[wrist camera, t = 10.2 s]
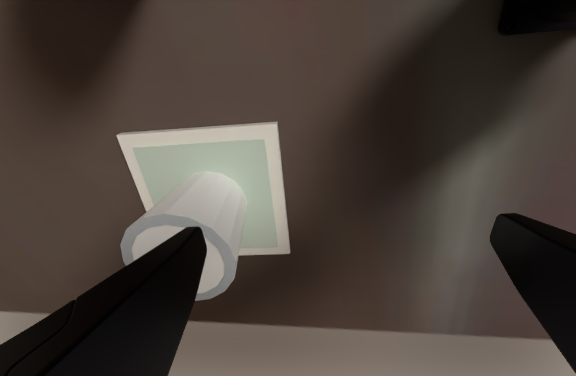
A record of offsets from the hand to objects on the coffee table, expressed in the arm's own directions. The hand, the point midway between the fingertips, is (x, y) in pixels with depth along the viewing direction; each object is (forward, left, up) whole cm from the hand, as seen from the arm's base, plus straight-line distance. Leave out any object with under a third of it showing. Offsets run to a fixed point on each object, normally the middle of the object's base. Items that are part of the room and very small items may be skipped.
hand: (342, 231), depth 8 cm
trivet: (+9, +5, -12) cm, 16 cm away
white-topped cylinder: (+9, +5, -12) cm, 16 cm away
